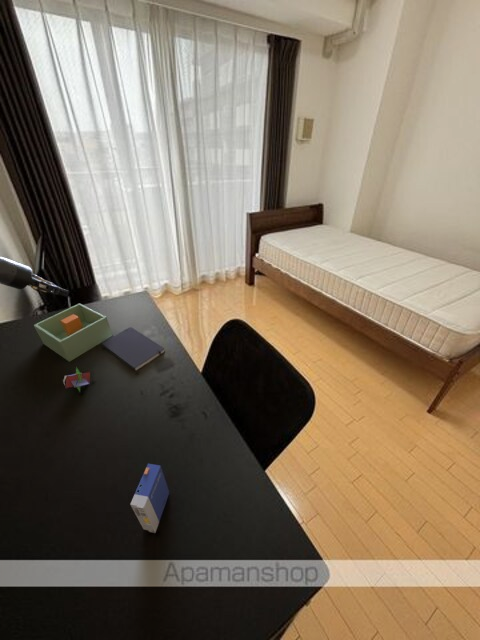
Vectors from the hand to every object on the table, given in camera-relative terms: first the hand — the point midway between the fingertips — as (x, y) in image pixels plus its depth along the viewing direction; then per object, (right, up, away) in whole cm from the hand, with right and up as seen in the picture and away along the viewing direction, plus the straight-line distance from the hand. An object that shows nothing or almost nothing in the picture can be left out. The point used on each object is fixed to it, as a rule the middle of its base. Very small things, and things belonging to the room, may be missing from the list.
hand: (60, 290), depth 97 cm
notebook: (+22, -21, +7) cm, 31 cm away
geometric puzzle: (+12, -31, -8) cm, 34 cm away
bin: (0, -18, +12) cm, 21 cm away
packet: (0, -17, +11) cm, 20 cm away
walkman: (+44, -51, -36) cm, 76 cm away
